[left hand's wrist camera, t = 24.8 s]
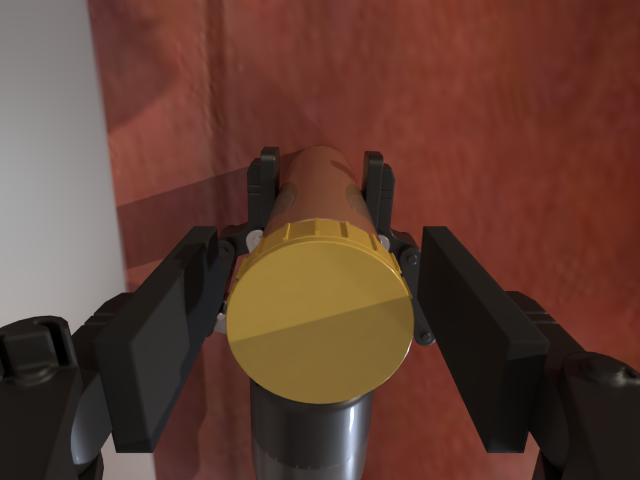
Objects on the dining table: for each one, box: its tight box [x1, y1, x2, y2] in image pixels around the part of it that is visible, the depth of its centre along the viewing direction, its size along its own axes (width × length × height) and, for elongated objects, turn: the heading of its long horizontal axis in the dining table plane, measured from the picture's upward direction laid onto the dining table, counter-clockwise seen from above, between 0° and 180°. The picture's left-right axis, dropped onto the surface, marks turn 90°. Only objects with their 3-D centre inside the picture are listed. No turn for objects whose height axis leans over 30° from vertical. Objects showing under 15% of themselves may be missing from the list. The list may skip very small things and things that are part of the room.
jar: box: [258, 146, 382, 244], centre depth 19 cm, size 4×4×17 cm
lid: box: [225, 218, 415, 404], centre depth 11 cm, size 5×5×2 cm
